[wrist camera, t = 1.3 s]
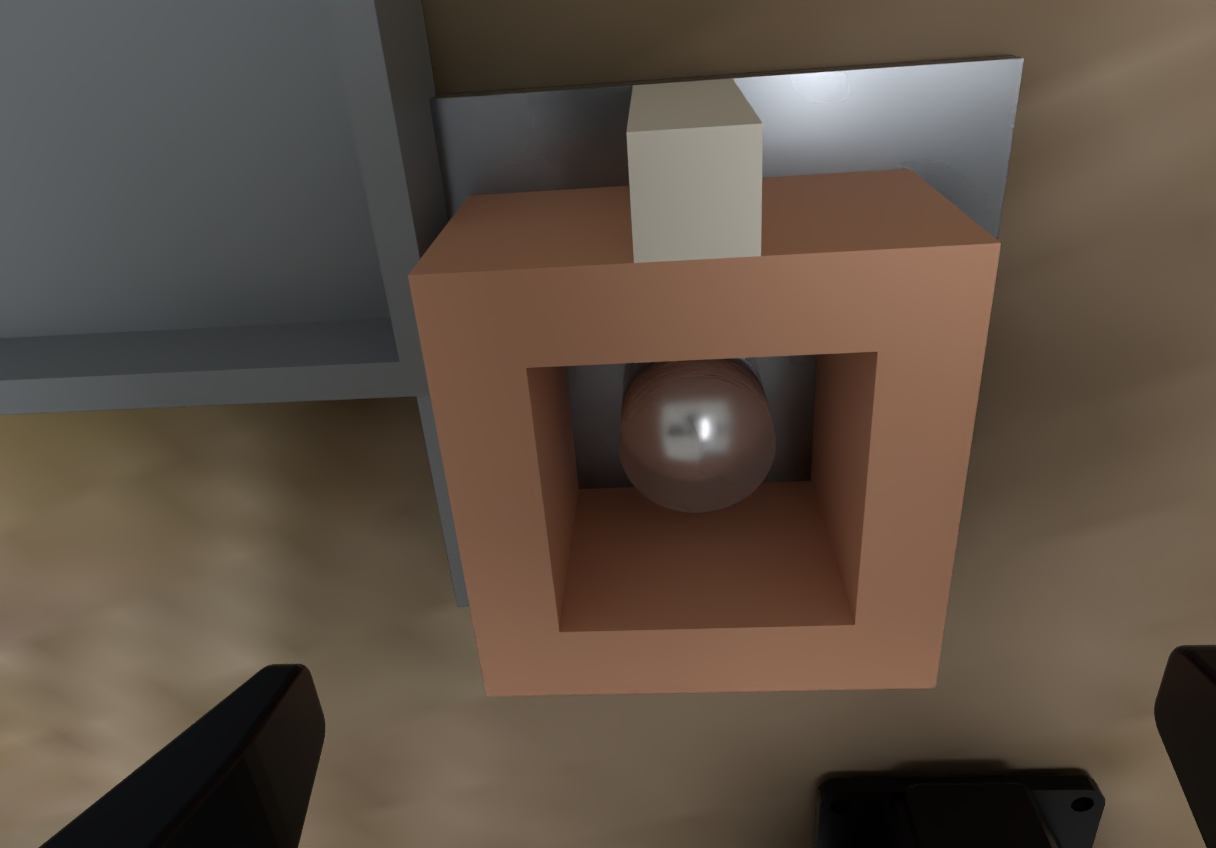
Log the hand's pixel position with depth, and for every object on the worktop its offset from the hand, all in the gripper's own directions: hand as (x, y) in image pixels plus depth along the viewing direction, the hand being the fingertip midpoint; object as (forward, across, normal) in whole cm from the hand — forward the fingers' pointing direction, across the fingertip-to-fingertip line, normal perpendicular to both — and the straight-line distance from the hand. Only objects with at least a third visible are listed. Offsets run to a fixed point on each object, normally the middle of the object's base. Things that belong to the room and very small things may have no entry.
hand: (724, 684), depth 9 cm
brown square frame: (+7, 0, 0) cm, 7 cm away
